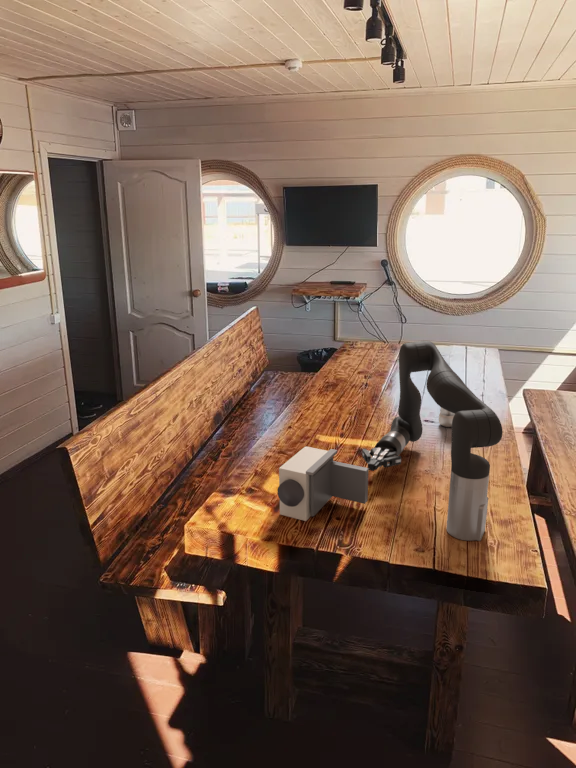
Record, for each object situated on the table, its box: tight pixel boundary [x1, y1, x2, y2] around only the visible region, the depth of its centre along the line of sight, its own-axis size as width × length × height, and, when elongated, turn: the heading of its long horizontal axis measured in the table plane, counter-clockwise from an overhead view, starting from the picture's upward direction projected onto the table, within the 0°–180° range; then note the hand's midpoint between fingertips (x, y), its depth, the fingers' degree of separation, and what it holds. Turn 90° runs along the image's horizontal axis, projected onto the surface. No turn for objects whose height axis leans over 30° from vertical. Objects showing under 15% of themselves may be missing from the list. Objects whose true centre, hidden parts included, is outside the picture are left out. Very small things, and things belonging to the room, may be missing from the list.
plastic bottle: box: [438, 407, 455, 428], centre depth 224 cm, size 6×7×20 cm
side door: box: [310, 456, 370, 518], centre depth 165 cm, size 11×13×12 cm
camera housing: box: [276, 446, 338, 522], centre depth 169 cm, size 10×18×15 cm, turn 152°
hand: (371, 467), depth 178 cm, fingers closed
